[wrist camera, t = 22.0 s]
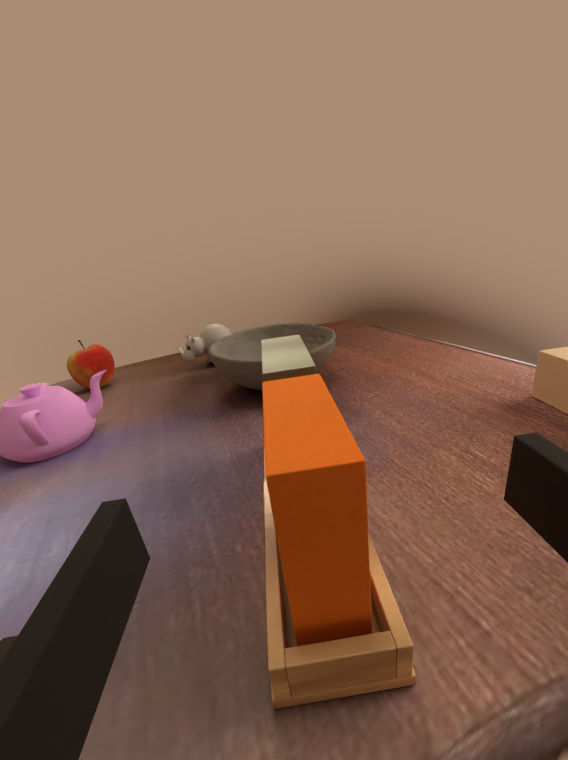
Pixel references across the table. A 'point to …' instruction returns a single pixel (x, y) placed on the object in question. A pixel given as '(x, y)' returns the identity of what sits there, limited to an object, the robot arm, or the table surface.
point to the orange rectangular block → (317, 510)
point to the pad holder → (285, 659)
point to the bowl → (243, 350)
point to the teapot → (47, 421)
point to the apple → (91, 365)
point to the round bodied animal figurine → (203, 342)
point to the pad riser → (552, 378)
